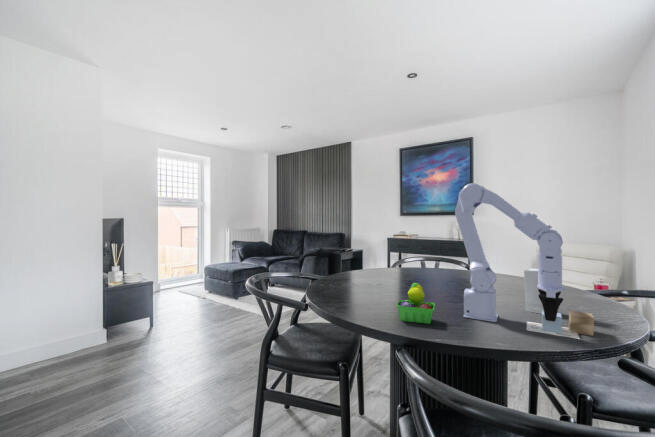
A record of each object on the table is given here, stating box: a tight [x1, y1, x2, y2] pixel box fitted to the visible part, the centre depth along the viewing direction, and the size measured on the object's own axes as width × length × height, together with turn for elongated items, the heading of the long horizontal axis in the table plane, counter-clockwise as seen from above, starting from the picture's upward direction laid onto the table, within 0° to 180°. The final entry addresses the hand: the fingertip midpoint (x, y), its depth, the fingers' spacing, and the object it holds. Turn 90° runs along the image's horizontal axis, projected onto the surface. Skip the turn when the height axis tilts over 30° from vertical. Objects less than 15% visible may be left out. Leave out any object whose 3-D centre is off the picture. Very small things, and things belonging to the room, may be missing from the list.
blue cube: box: [541, 311, 563, 333], centre depth 89 cm, size 4×4×4 cm
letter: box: [526, 321, 581, 340], centre depth 89 cm, size 12×9×1 cm
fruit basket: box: [396, 282, 436, 325], centre depth 99 cm, size 11×9×11 cm
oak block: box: [568, 309, 595, 337], centre depth 88 cm, size 5×5×5 cm
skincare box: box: [523, 267, 560, 315], centre depth 106 cm, size 8×6×15 cm
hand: (549, 317), depth 90 cm, fingers open, 7 cm apart
